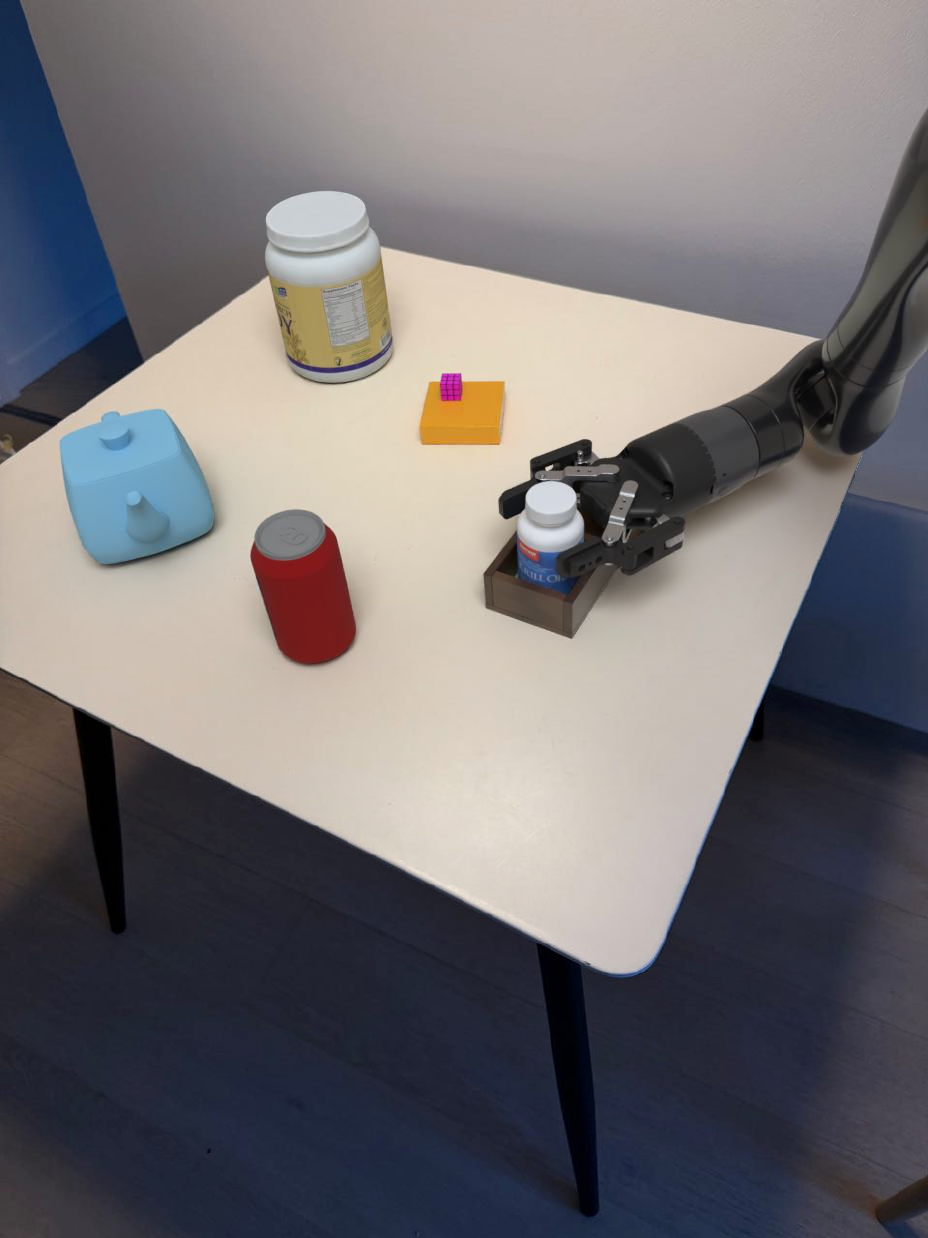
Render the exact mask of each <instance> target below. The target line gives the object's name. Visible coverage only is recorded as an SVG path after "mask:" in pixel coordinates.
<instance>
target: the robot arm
mask: <svg viewBox="0 0 928 1238" xmlns="http://www.w3.org/2000/svg"><path fill="white" fill-rule="evenodd" d="M927 350H928V107H927V108H926V109H925V111H923V113H922V115H921V117H920V118H919V120H918V121H917V123H916V125H915V127H914V129H913V131H912V133H911V135H910V138H909V140H908V142H907V144H906V147H905V149H904V151H903V155H902V157H901V159H900V162H899V165H898V168H897V171H896V173H895V176H894V179H893V181H892V184H891V187H890V190H889V194H888V197H887V199H886V202H885V205H884V207H883V210H882V213H881V216H880V218H879V221H878V224H877V228H876V229H875V234H874V238H873V239H872V244H871V246H870V249H869V253H868V256H867V259H866V262H865V265H864V267H863V270H862V273H861V276H860V278H859V281H858V283H857V284H856V288H855V289H854V291H853V293H852V294H851V296H850V298H849V300H848V301H847V303H846V304H845V306H844V308H843V309H842V311H841V312H840V314H839V316H838V317H837V319H836V320H835V322H834V323H833V325H832V327H831V329H830V330H829V332H828V333H827V335H826V337H825V338H821V339H817V340H815V341H813V342H811V343H809V344H807V345H806V346H804V347H803V348H802V349H800V350H799V351H798V352H797V353H796V354H795V355H794V356H793V357H791V358H790V360H788V362H787V363H785V365H783V366H782V367H781V368H780V369H779V370H778V371H777V372H776V373H775V374H773V375H772V376H771V377H770V378H769V379H767V380H766V381H764V382H763V383H761V384H760V385H759V386H757V387H755V388H754V389H752V390H751V391H749V392H747V393H744V394H743V395H740V396H739V397H736V398H734V399H732V400H729V401H727V402H725V403H723V404H720V405H718V406H715V407H712V408H709V409H705V410H702V411H698V412H695V413H692V414H690V415H688V416H685V417H683V418H681V419H679V420H676V421H673V422H672V423H669V424H666V425H664V426H663V427H660V428H657V429H656V430H653V431H650V432H648V433H647V434H644V435H642V436H639V437H638V438H635V439H633V440H631V441H630V442H628V443H627V444H626V445H625V446H624V447H623V449H622V450H621V451H620V452H619V453H617V455H615V456H611V457H601V458H600V457H599V456H598V455H597V454H596V453H595V452H594V451H593V441H592V440H590V439H589V438H583V439H580V440H576V441H574V442H572V443H568V444H566V445H564V446H560V447H558V448H556V449H552V450H550V451H548V452H545V453H543V454H540V455H536V456H534V457H532V458H531V459H530V460H529V471H530V472H529V475H530V476H529V480H527V481H524V482H522V483H520V484H516V485H515V486H513V487H510V488H508V489H505V490H504V491H503V492H502V493H501V494H500V495H499V497H498V499H497V500H498V501H497V502H498V503H497V504H498V514H499V515H500V516H501V517H502V518H503V520H509V519H511V518H514V517H517V516H520V514H521V513H522V511H523V510H524V509H525V505H526V494H527V492H528V491H529V489H530V488H531V487H533V486H534V485H536V484H539V483H542V482H546V481H556V482H561V483H564V484H566V485H568V486H570V487H571V488H572V489H573V482H574V481H577V480H583V482H582V484H581V486H580V494H577V493H576V497H577V507H581V509H582V510H583V511H585V512H586V513H587V514H589V515H591V516H593V517H594V518H595V520H596V522H597V523H598V524H599V525H600V526H601V527H602V528H604V527H606V529H605V531H604V533H603V535H602V539H601V540H599V539H598V538H597V537H596V536H595V537H593V538H591V539H589V540H586V541H584V542H582V543H580V544H578V545H576V546H574V547H572V548H569V549H567V550H565V551H563V552H561V553H559V554H558V556H557V557H556V572H557V573H558V574H559V575H560V576H561V578H563V579H564V578H567V577H569V576H570V577H577V576H580V575H582V574H584V573H586V572H588V571H590V570H592V569H594V568H596V567H598V566H600V565H603V564H605V565H613V564H614V565H616V566H618V568H620V571H621V573H622V574H623V575H626V576H633V575H635V574H637V573H639V572H641V571H643V570H644V569H646V568H648V567H650V566H651V565H653V564H655V563H657V562H659V561H660V560H662V559H665V558H666V557H667V556H670V555H672V554H673V553H675V552H677V551H679V550H680V549H681V548H682V547H683V545H684V544H683V543H684V538H685V532H686V531H685V527H686V520H685V518H683V517H685V516H687V515H688V514H691V513H692V512H695V511H697V510H699V509H701V508H703V507H705V506H708V505H710V504H711V503H713V502H716V501H718V500H721V499H722V498H725V497H726V496H728V495H730V494H732V493H733V492H735V491H737V490H738V489H739V488H741V487H742V486H744V485H745V484H747V483H750V482H751V481H753V480H756V479H758V478H760V477H762V476H763V475H766V474H768V473H770V472H772V471H775V470H777V469H778V468H781V467H782V466H784V465H786V464H789V462H791V461H793V460H794V459H795V458H796V457H797V456H798V455H799V453H801V451H802V449H803V446H804V441H805V431H806V432H807V433H808V436H809V437H810V438H811V440H812V442H813V443H814V444H815V445H816V447H817V448H818V449H820V450H821V452H823V453H826V454H827V455H830V456H833V457H838V458H839V457H841V458H844V457H851V456H854V455H858V454H860V453H863V451H865V450H867V449H869V448H870V447H871V446H873V445H874V444H875V443H877V441H879V439H881V438H882V436H883V435H884V434H885V433H886V431H887V430H888V428H889V427H890V426H891V425H892V422H893V420H894V418H895V416H896V413H897V411H898V408H899V405H900V402H901V397H902V393H903V389H904V385H905V383H906V378H907V375H908V373H909V371H911V369H912V368H913V367H914V366H915V364H917V362H918V361H919V360H920V358H922V357H923V355H924V354H925V353H926V352H927ZM551 466H552V467H551ZM548 467H551V468H550V469H548V470H547V468H548ZM633 529H642V530H647V531H645V532H643V533H642V534H641V533H640V534H639V536H637V537H636V538H634V539H632V540H630V541H628V542H627V540H628V537H629V535H630V533H631V531H632V530H633Z"/></svg>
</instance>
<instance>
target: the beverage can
mask: <svg viewBox="0 0 928 1238" xmlns="http://www.w3.org/2000/svg"><path fill="white" fill-rule="evenodd" d="M253 538H254V540H253V543H252V545H251V548H250V555H249V557H250V562H251V566H252V569H253V572H254V575H255V580H256V582H257V586H258V589H259V593H260V595H261V598H262V602H263V605H264V608H265V611H266V615H267V618H268V620H269V624H270V627H271V630H272V633H273V636H274V639H275V642H276V645H277V647H278V649H279V651H280V652H281V653H282V654H283V655H284V656H285V657H286V658H288V659H290V660H292V661H295V662H297V663H302V664H303V663H304V664H316V663H322V662H326V661H330V660H331V659H332V660H333V659H334V658H337V656H339V655H341V654H342V653H343V652H344V651H346V650H347V649H348V648H349V647H350V645H352V643H353V641H354V639H355V636H356V632H357V625H356V624H357V623H356V619H355V615H354V614H355V613H354V609H353V603H352V600H351V594H350V590H349V586H348V581H347V577H346V572H345V568H344V563H343V559H342V555H341V551H340V546H339V541H338V539H337V536H336V533H335V532H334V531H333V529H332V528H331V527H330V526H328V525H327V524H326V523H325V522H324V521H323V519H322V518H321V516H319V515H318V514H317V513H315V512H313V511H310V510H306V509H297V508H294V509H293V508H292V509H286V510H282V511H279V512H276V513H274V514H272V515H270V516H268V517H267V518H265V519H263V521H262V522H261V523H260V524H259V525H258V527H256V529H255V532H254V537H253Z"/></svg>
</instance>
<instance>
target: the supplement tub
mask: <svg viewBox="0 0 928 1238" xmlns="http://www.w3.org/2000/svg"><path fill="white" fill-rule="evenodd" d="M265 226H266V237H267V239H268V242H267V244H266V247H265V252H264V260H265V267H266V270H267V274H268V279H269V282H270V283H269V284H270V287H271V293H272V297H273V302H274V306H275V311H276V314H277V319H278V324H279V328H280V333H281V338H282V342H283V346H284V350H285V355H286V356H285V357H286V359H287V361H288V363H289V365H290V366H291V368H292V369H293V370H294V371H295V372H296V373H297V374H299V375H300V376H302V377H303V378H305V379H307V380H310V381H314V382H319V383H328V384H329V383H330V384H331V383H333V384H334V383H336V384H337V383H346V382H347V383H348V382H352V381H356V380H360V379H363V378H365V377H368V376H369V375H371V374H374V373H375V372H377V371H378V370H379V369H381V368H382V367H383V366H384V365H385V364H386V363H387V362H388V361H389V359H390V358H391V355H392V353H393V349H394V337H393V332H392V325H391V317H390V316H391V315H390V310H389V303H388V294H387V288H386V280H385V272H384V271H385V270H384V265H383V258H382V257H383V256H382V247H381V244H380V239H379V238H378V235H377V234H376V232H375V231H374V229H373V228H372V227H371V226H370V219H369V216H368V213H367V208H366V205H365V203H364V201H363V200H362V199H361V198H359V197H357V196H356V195H354V194H351V193H348V192H344V191H335V190H320V191H310V192H305V193H300V194H296V195H294V196H291V197H288V198H286V199H284V200H282V201H280V202H278V203H277V204H275V205H274V206H273V207H271V209H270V210H269V211H268V212H267V213H266V216H265Z"/></svg>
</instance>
